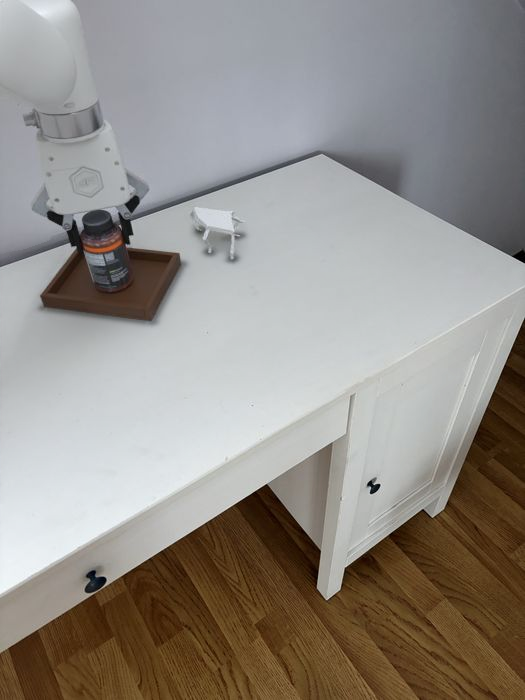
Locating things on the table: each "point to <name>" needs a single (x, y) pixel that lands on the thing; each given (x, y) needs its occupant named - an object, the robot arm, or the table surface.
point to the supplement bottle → (105, 252)
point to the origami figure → (216, 223)
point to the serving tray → (132, 302)
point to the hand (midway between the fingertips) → (103, 243)
